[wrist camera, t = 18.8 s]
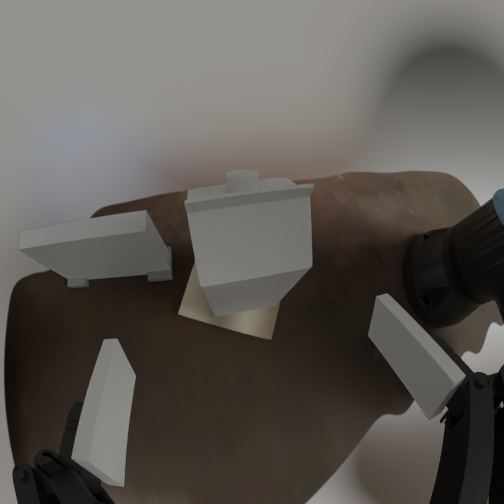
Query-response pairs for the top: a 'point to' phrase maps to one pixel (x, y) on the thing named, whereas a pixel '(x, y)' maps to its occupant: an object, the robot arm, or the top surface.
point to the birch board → (244, 322)
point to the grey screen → (101, 248)
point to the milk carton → (250, 239)
